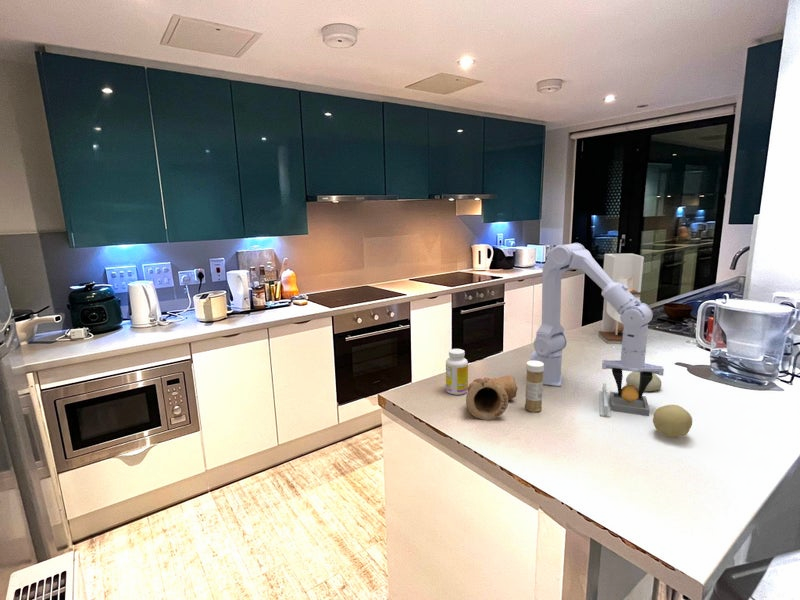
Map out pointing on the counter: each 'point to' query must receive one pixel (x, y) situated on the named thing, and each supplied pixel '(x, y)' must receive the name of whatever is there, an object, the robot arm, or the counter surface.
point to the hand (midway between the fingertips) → (629, 395)
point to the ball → (629, 393)
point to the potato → (672, 421)
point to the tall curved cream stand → (626, 273)
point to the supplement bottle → (456, 372)
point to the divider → (604, 402)
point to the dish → (629, 405)
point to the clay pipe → (490, 396)
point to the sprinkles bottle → (534, 385)
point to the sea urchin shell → (635, 381)
